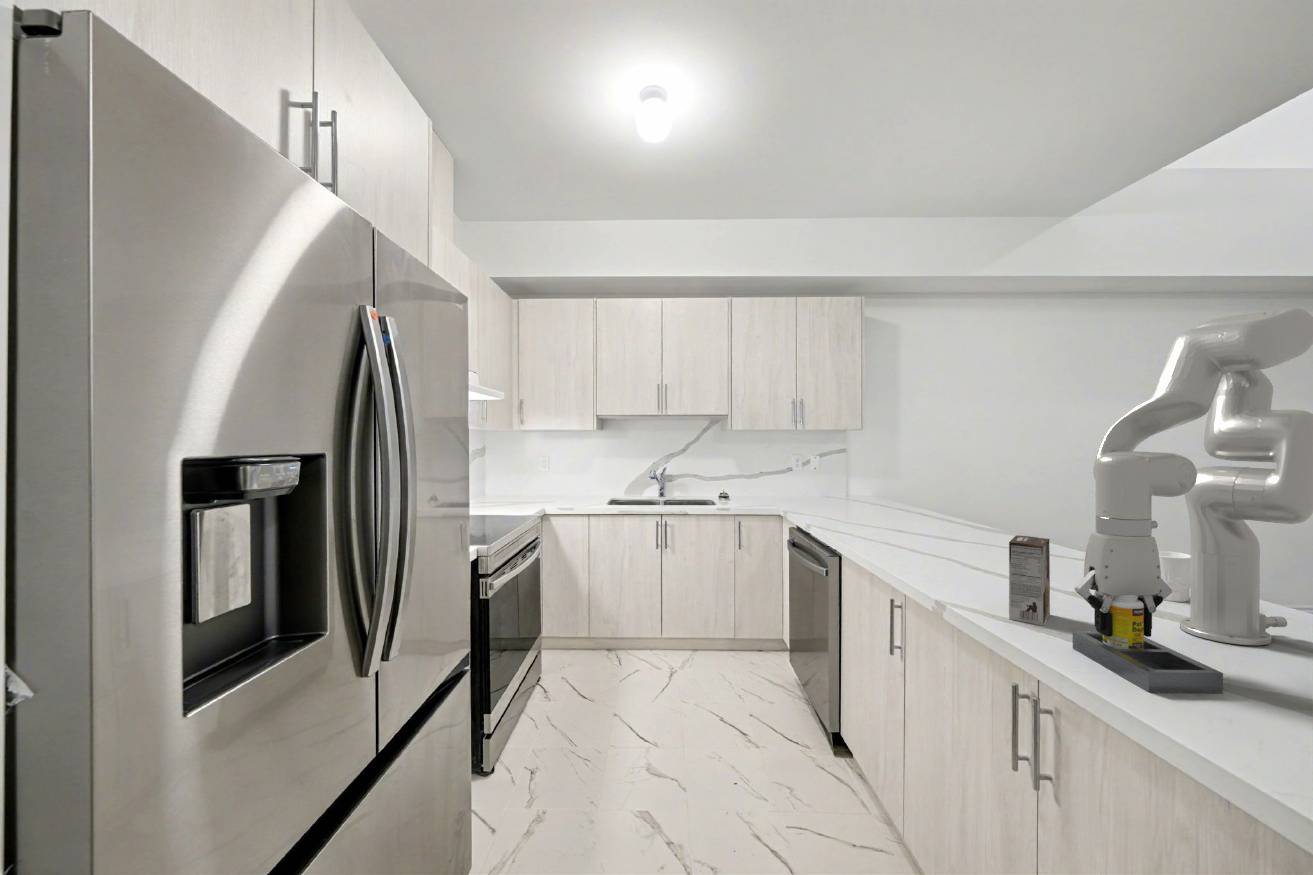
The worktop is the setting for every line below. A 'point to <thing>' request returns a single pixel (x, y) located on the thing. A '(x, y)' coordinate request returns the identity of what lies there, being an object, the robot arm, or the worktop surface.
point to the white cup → (1176, 574)
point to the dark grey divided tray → (1151, 666)
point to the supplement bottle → (1126, 623)
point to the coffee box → (1029, 579)
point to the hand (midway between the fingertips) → (1122, 632)
